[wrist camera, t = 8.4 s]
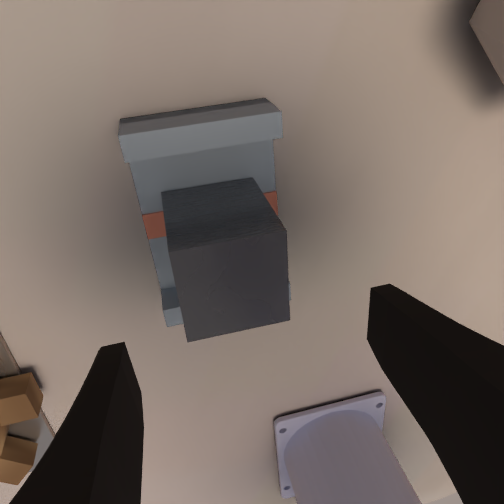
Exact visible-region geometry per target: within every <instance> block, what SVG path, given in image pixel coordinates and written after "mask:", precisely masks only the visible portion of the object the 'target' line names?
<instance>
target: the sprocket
mask: <svg viewBox="0 0 504 504" xmlns="http://www.w3.org/2000/svg"><path fill="white" fill-rule="evenodd" d="M42 400H43V394H42V392H41V390H40V388H39V386H38V384H37V382H36V380H35V379H34V377H33V375H32V373H31V372H30V373H26V374H21V375H17V376H12V377H8V378H3V379H0V482H4V483H9V484H14V485H18V484H19V483H20V481H21V480H22V479H23V478H24V477H25V475H26V474H27V473H28V472H29V470H30V469H31V468H32V467H33V465H34V460H35V455H36V451H37V446H38V443H35V442H31V441H27V440H23V439H19V438H15V437H11V436H7V433H8V430H9V425H10V424H13V423H18V422H22V421H26V420H30V419H34V418H38V417H39V413H40V409H41V404H42Z"/></svg>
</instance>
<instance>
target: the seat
mask: <svg viewBox="0 0 504 504" xmlns="http://www.w3.org/2000/svg"><path fill="white" fill-rule="evenodd" d="M118 138H119V142H120V146H121V150H122V153H123V157H124V161H125V163H128V162H129V164H130V168H131V172H132V176H133V180H134V184H135V188H136V192H137V196H138V200H139V204H140V208H141V212H142V217H143V221H144V225H145V229H146V233H147V237H148V240H149V244H150V248H151V252H152V256H153V260H154V264H155V268H156V272H157V276H158V280H159V284H160V287H161V294H162V306H163V313H164V317H165V321H166V325H167V327H170V326H174V325H179V324H184V323H183V318H182V314H181V309H180V304H179V300H178V295H177V290H176V286H175V281H174V276H173V272H172V267H171V262H170V257H169V253H168V245H167V237H166V229H165V221H164V213H163V205H162V197H161V192H166V191H172V190H178V189H184V188H190V187H196V186H203V185H209V184H215V183H221V182H227V181H234V180H240V179H246V178H252V177H253V178H254V180H255V181H256V183H257V184H258V186H259V188H260V189H261V191H262V192H263V194H264V196H265V197H266V199H267V200H268V202H269V204H270V205H271V207H272V208H273V210H274V211H275V213H276V215H278V207H277V192H276V184H275V167H274V151H273V139H278V138H283V129H282V111H281V110H279V109H278V108H277V107H276V106H275V105H273V104H272V103H271V102H270V101H268V100H267V99H266V98H262V99H255V100H248V101H241V102H235V103H228V104H221V105H214V106H207V107H200V108H193V109H186V110H179V111H173V112H166V113H159V114H152V115H145V116H138V117H131V118H124V119H120V124H119V132H118ZM289 300H291V292H290V282H289Z"/></svg>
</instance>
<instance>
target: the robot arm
mask: <svg viewBox="0 0 504 504" xmlns="http://www.w3.org/2000/svg"><path fill="white" fill-rule="evenodd" d="M367 340H368V342H369V344H370V346H371V348H372V351H373V353H374V355H375V357H376V359H377V361H378V362H379V364H380V366H381V368H382V370H383V371H384V373H385V374H386V376H387V378H388V379H389V381H390V382H391V384H392V385H393V387H394V388H395V390H396V391H397V393H398V394H399V395H400V397H401V398H402V400H403V401H404V403H405V404H406V406H407V407H408V409H409V410H410V412H411V413H412V415H413V416H414V418H415V419H416V421H417V422H418V424H419V425H420V426H421V428H422V429H423V431H424V432H425V434H426V436H427V437H428V439H429V441H430V442H431V444H432V445H433V447H434V449H435V451H436V453H437V454H438V456H439V458H440V460H441V462H442V464H443V465H444V467H445V469H446V471H447V473H448V475H449V477H450V478H451V480H452V482H453V484H454V486H455V488H456V490H457V492H458V494H459V496H460V498H461V500H462V502H463V504H504V346H503V345H501V344H499V343H497V342H495V341H493V340H491V339H489V338H487V337H485V336H483V335H481V334H479V333H477V332H475V331H473V330H471V329H469V328H467V327H465V326H463V325H461V324H459V323H458V322H456V321H454V320H452V319H450V318H449V317H447V316H445V315H443V314H441V313H440V312H438V311H436V310H434V309H433V308H431V307H429V306H428V305H426V304H424V303H423V302H421V301H419V300H417V299H416V298H414V297H412V296H411V295H409V294H407V293H406V292H404V291H402V290H400V289H399V288H397V287H395V286H393V285H391V284H386V285H382V286H377V287H373V288H371V291H370V305H369V318H368V332H367ZM385 404H386V396H385V394H384V393H383V392H375V393H371V394H367V395H364V396H360V397H356V398H352V399H348V400H344V401H340V402H336V403H333V404H329V405H325V406H321V407H317V408H313V409H309V410H305V411H302V412H298V413H294V414H290V415H286V416H282V417H279V418H277V419H276V420H275V421H274V430H275V441H276V451H277V462H278V473H279V483H280V493H281V496H282V498H290V497H294V496H295V498H296V501H297V504H422V503H421V502H420V500H419V498H418V496H417V494H416V493H415V491H414V489H413V487H412V485H411V484H410V482H409V480H408V478H407V476H406V475H405V473H404V471H403V469H402V468H401V466H400V464H399V462H398V460H397V459H396V457H395V455H394V453H393V451H392V450H391V448H390V446H389V444H388V442H387V441H386V439H385V437H384V435H383V433H382V429H383V421H384V412H385ZM143 437H144V422H143V408H142V395H141V390H140V387H139V384H138V381H137V378H136V375H135V372H134V369H133V366H132V363H131V360H130V357H129V354H128V351H127V348H126V345H125V342H121V343H117V344H112V345H108V346H103V347H101V348H100V350H99V351H98V353H97V355H96V358H95V360H94V362H93V364H92V367H91V369H90V371H89V373H88V375H87V377H86V379H85V381H84V384H83V386H82V388H81V390H80V392H79V394H78V395H77V397H76V399H75V401H74V403H73V405H72V407H71V409H70V411H69V413H68V414H67V416H66V418H65V420H64V421H63V423H62V425H61V427H60V428H59V430H58V432H57V433H56V435H55V437H54V438H53V440H52V442H51V443H50V445H49V447H48V448H47V450H46V452H45V453H44V455H43V456H42V458H41V459H40V461H39V462H38V464H37V465H36V467H35V468H34V470H33V471H32V473H31V474H30V476H29V477H28V478H27V480H26V481H25V483H24V484H23V486H22V487H21V488H20V490H19V491H18V492H17V494H16V495H15V496H14V498H13V499H12V500H11V502H10V503H9V504H141V482H142V461H143Z"/></svg>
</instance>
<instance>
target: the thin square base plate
mask: <svg viewBox="0 0 504 504" xmlns="http://www.w3.org/2000/svg"><path fill="white" fill-rule="evenodd" d="M21 374H22V373H21V371H20V369H19V367H18V365H17V364H16V362H15V360H14V358H13V356H12V354H11V353H10V351H9V349H8V347H7V345H6V343H5V341H4V340H3V338H2V336H1V334H0V379H3V378H8V377H12V376H17V375H21ZM7 436H11V437H15V438H19V439H23V440H27V441H31V442H35V443H38V446H37V451H36V455H35V460H34V465H33V467H32V468H31V469H30V470H29V472H31V471H33V470H34V468H35V467H36V465H37V464H38V462H39V461H40V459H41V458H42V456H43V455H44V453H45V452H46V450H47V448H48V447H49V445H50V443H51V442H52V440H53V438H54V437H55V434H54V432H53V430H52V428H51V427H50V425H49V423H48V421H47V419H46V417H45V415H44V414H43V412H42V410H41V409H40V413H39V417H38V418H34V419H30V420H26V421H22V422H18V423H13V424H10V425H9V430H8V433H7Z"/></svg>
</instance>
